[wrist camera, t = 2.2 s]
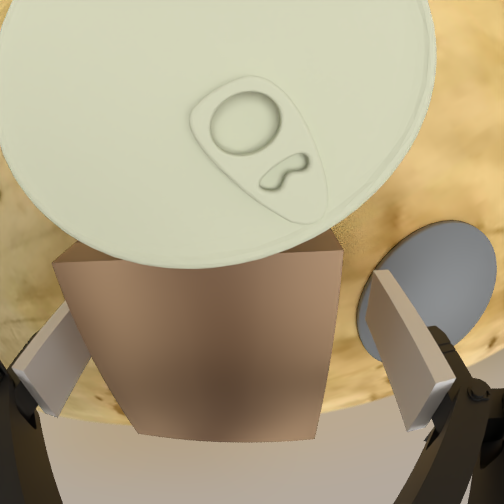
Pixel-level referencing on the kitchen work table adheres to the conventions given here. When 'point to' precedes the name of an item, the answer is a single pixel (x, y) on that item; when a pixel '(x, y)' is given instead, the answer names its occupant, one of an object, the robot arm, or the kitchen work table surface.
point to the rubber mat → (439, 278)
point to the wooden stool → (211, 340)
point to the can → (209, 118)
